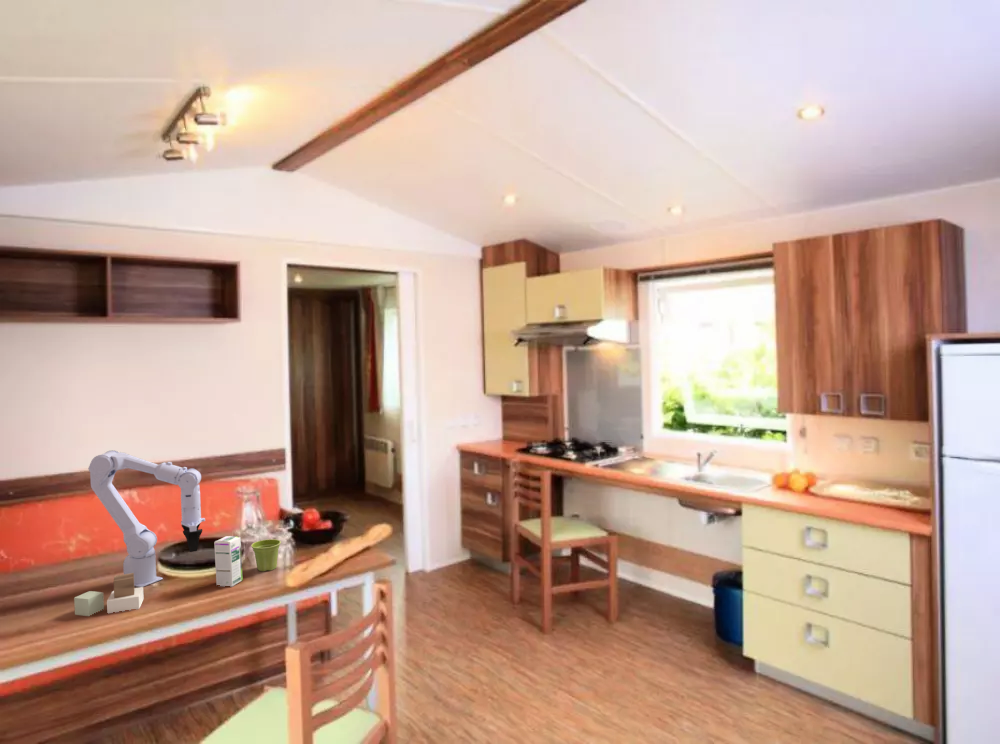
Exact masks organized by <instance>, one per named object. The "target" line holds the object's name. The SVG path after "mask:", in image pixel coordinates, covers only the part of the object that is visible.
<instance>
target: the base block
mask: <svg viewBox="0 0 1000 744" xmlns="http://www.w3.org/2000/svg"><path fill="white" fill-rule="evenodd" d="M144 594H145V593H144V586H143V587H134V595H130V596H125V597H119V598H114V590H113V591H111V593H110V594H109V596H108V598H107V600H106V610H107V611H106V613H108V614H113V612H115V613H120V612H119V611H122V612H126V611H125V610H129V611H132V610H131V609H136V610H139V609H140V608H141V606H142V603H143V601H144Z"/></svg>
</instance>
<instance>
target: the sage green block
mask: <svg viewBox="0 0 1000 744" xmlns="http://www.w3.org/2000/svg"><path fill="white" fill-rule="evenodd" d="M73 601H74V602H73V603H74V615H75V616H84V617H91V616H93V615H95V614H97V613H99V612H101V611H103V610H104V609H105V602H104V601H105V598H104V592H101V591H95V590H93V591H92V590H89V591H87V592H84V593H82V594H80V595H77V596H75V597H74V598H73ZM102 609H103V610H102ZM100 610H101V611H100ZM98 611H99V612H98ZM96 612H97V613H96ZM94 613H95V614H94ZM92 614H93V615H92ZM90 615H91V616H90Z"/></svg>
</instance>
